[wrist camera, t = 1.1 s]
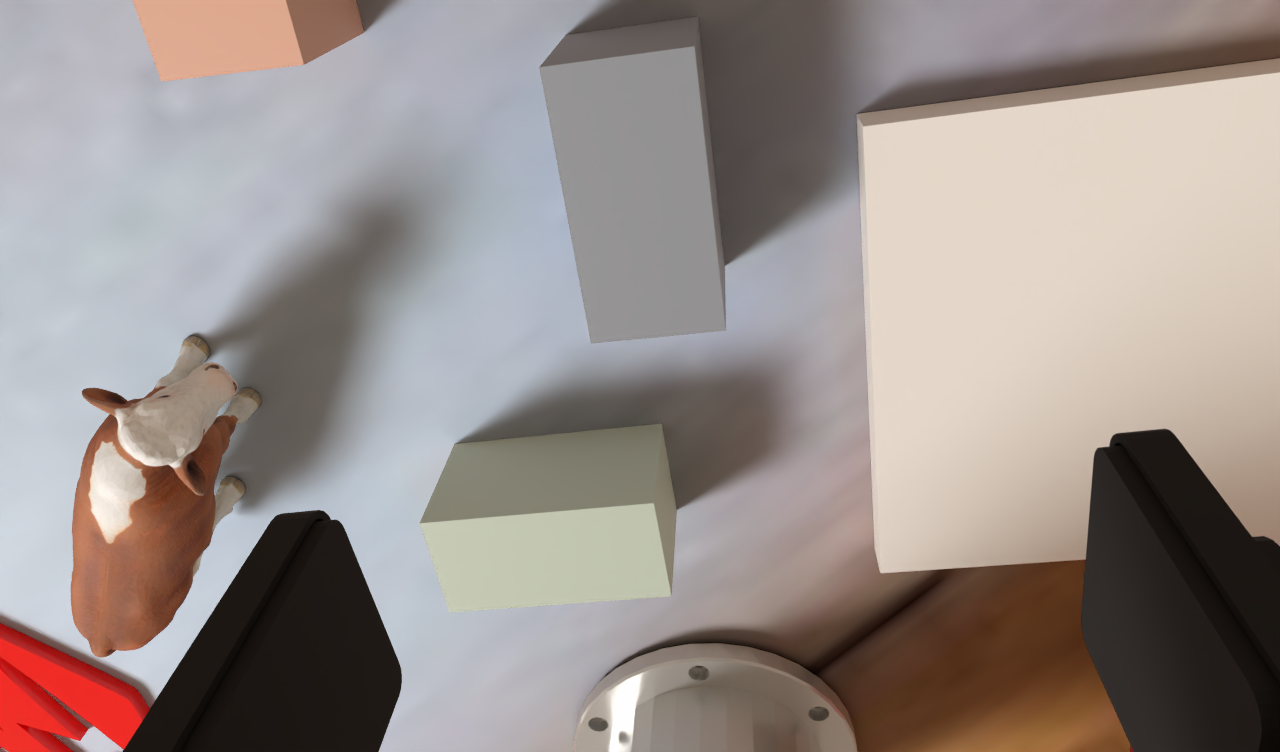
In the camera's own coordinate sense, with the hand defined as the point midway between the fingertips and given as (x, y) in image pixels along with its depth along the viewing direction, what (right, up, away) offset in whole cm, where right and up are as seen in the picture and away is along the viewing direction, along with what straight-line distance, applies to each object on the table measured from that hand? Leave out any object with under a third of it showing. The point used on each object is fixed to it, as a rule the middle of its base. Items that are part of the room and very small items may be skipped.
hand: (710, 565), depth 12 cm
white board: (+15, +4, +20) cm, 26 cm away
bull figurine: (-17, +1, +25) cm, 30 cm away
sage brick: (-4, -1, +25) cm, 25 cm away
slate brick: (-1, +9, +18) cm, 21 cm away
